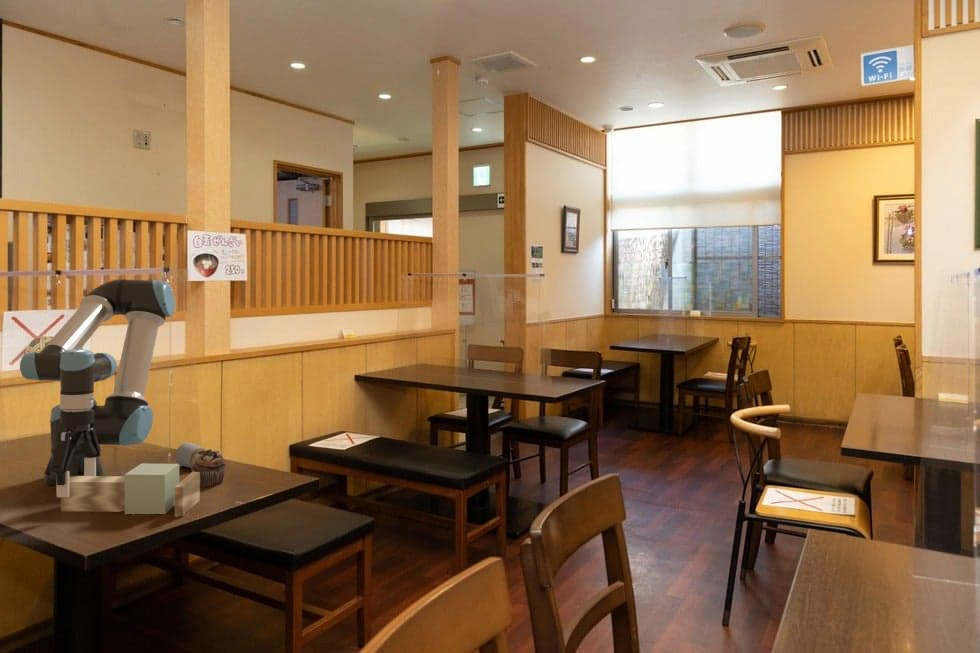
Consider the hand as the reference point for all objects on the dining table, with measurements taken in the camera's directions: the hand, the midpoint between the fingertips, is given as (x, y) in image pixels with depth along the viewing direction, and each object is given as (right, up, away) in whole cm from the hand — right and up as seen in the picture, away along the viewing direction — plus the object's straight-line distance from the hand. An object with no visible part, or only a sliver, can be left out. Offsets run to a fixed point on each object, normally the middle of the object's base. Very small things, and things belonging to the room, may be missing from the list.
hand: (77, 488), depth 175 cm
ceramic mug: (+13, -3, +41) cm, 43 cm away
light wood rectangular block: (+5, -6, +1) cm, 7 cm away
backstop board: (+28, -6, +4) cm, 29 cm away
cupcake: (+24, -5, +25) cm, 35 cm away
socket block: (+19, -6, +3) cm, 20 cm away
